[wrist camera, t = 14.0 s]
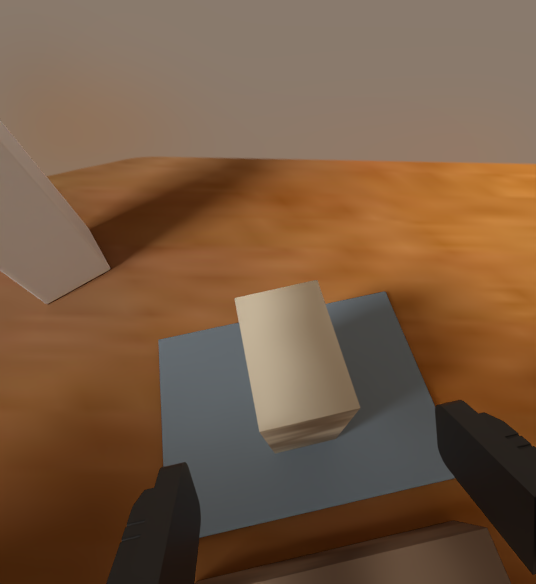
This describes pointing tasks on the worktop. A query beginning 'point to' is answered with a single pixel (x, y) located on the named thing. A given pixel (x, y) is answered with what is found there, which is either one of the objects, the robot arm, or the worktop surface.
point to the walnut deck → (391, 561)
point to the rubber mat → (305, 460)
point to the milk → (41, 229)
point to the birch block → (295, 367)
